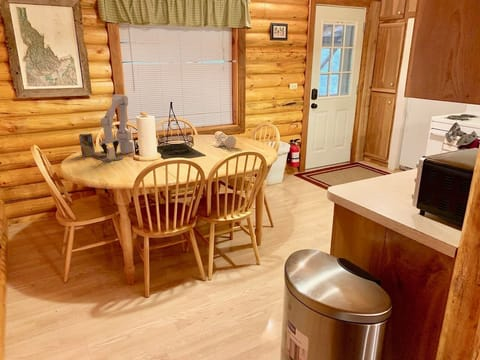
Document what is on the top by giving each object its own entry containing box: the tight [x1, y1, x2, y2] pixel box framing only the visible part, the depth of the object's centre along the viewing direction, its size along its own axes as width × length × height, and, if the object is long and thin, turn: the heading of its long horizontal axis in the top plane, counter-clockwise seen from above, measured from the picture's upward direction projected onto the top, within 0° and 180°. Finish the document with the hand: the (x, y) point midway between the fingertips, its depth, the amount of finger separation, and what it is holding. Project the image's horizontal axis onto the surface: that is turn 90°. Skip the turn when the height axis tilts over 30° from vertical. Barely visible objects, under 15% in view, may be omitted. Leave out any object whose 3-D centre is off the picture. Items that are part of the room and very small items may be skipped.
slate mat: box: [100, 156, 123, 163], centre depth 270 cm, size 12×10×1 cm
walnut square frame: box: [92, 150, 119, 160], centre depth 279 cm, size 14×12×2 cm
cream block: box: [106, 146, 116, 160], centre depth 269 cm, size 4×4×8 cm
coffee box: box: [78, 133, 96, 157], centre depth 279 cm, size 9×6×16 cm
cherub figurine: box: [212, 131, 237, 149], centre depth 302 cm, size 13×12×20 cm
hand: (110, 152), depth 268 cm, fingers open, 7 cm apart
